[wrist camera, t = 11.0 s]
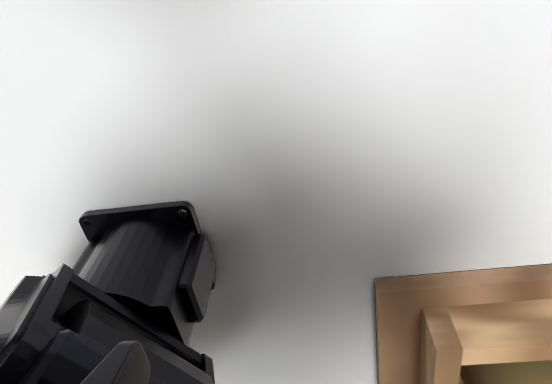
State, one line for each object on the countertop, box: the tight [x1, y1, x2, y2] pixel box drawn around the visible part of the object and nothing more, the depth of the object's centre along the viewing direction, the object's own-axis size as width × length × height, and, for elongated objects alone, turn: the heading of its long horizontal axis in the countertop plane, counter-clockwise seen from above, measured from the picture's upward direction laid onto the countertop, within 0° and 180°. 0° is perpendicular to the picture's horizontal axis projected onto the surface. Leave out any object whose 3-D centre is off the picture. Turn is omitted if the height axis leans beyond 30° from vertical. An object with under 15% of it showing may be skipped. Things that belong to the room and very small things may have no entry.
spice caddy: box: [375, 264, 552, 384], centre depth 27 cm, size 16×14×4 cm
